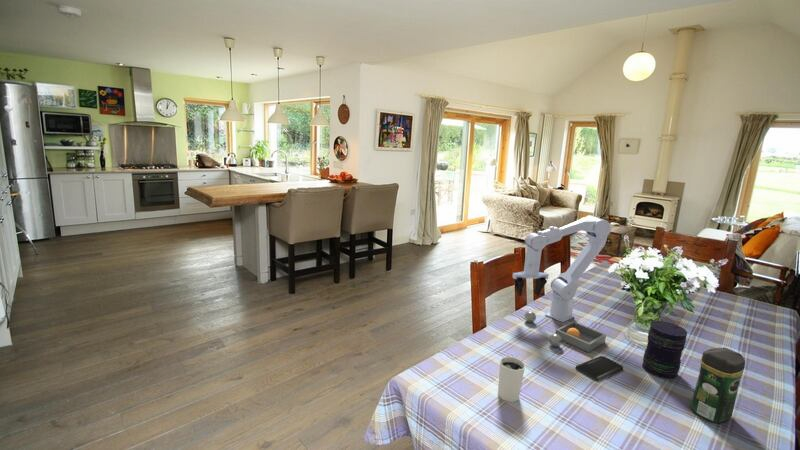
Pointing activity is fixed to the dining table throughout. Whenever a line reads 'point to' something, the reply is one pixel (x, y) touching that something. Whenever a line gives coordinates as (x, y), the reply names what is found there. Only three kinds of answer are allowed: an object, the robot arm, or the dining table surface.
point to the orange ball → (573, 332)
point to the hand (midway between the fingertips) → (528, 295)
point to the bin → (582, 337)
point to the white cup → (510, 378)
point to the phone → (599, 368)
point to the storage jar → (664, 349)
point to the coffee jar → (717, 384)
